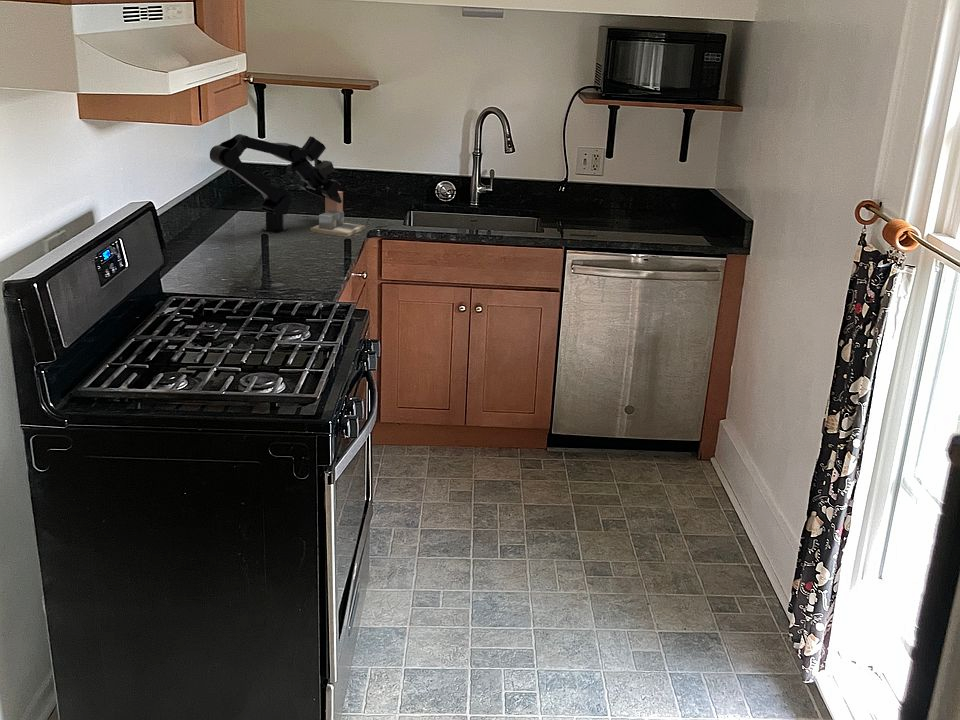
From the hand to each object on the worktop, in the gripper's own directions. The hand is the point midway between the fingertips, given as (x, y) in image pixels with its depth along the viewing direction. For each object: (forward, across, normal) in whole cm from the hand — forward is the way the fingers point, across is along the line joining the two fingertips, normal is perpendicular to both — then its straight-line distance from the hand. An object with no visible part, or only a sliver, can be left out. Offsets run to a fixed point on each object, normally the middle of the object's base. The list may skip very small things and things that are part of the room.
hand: (333, 200), depth 332 cm
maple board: (+2, -11, +10) cm, 15 cm away
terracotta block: (+6, 0, +6) cm, 8 cm away
